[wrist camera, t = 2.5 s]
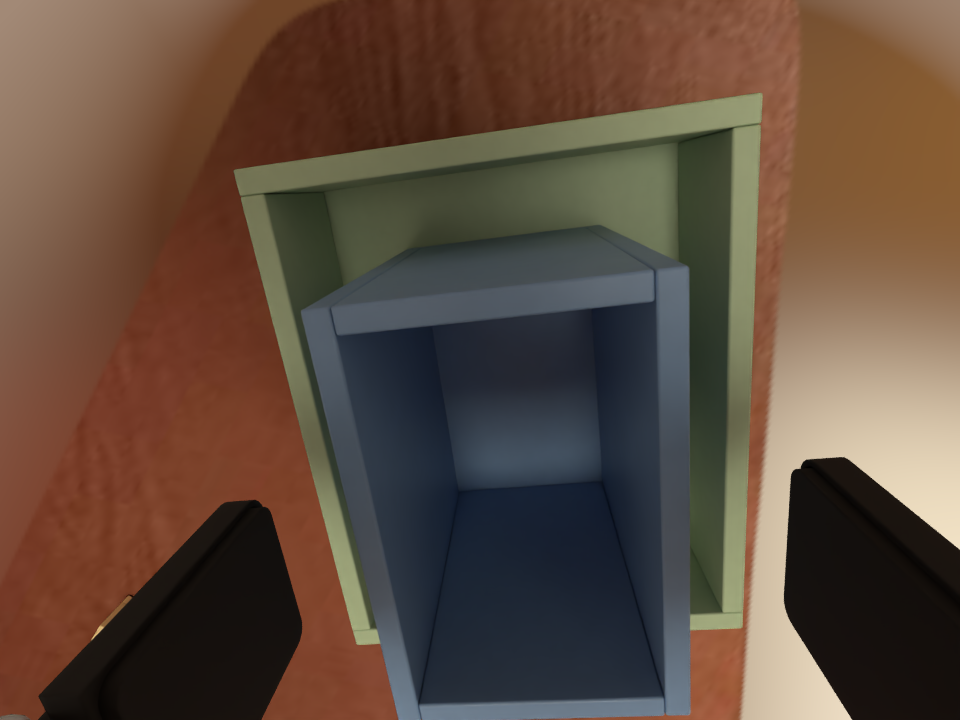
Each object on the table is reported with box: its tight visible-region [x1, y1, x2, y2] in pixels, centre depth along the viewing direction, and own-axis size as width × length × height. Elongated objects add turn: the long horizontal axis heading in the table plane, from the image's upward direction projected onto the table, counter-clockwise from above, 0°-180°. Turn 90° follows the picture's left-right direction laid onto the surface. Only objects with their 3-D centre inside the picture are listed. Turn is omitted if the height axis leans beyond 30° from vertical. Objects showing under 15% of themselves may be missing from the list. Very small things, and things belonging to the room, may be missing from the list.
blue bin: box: [301, 225, 690, 720], centre depth 13 cm, size 9×6×8 cm, turn 7°
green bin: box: [234, 93, 762, 645], centre depth 17 cm, size 14×12×8 cm
